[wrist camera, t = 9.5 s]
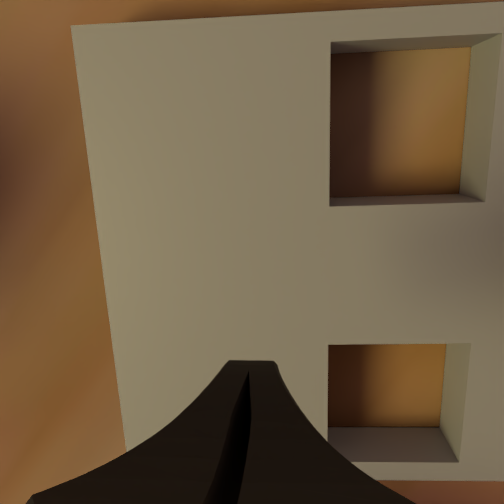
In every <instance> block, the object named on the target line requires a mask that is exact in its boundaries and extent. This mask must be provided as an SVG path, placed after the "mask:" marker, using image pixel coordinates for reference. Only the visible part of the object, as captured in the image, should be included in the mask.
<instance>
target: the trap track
mask: <svg viewBox="0 0 504 504" xmlns="http://www.w3.org/2000/svg"><path fill="white" fill-rule="evenodd" d="M71 32H72V40H73V48H74V55H75V63H76V70H77V78H78V86H79V93H80V101H81V109H82V116H83V124H84V131H85V139H86V147H87V154H88V162H89V170H90V177H91V185H92V192H93V200H94V208H95V215H96V223H97V231H98V238H99V246H100V253H101V261H102V269H103V276H104V284H105V292H106V299H107V307H108V314H109V322H110V330H111V337H112V345H113V353H114V360H115V368H116V375H117V383H118V391H119V398H120V406H121V414H122V421H123V429H124V436H125V444H126V452H128V451H129V450H131V449H133V448H134V447H136V446H137V445H139V444H140V443H142V442H144V441H145V440H147V439H148V438H150V437H151V436H153V435H154V434H156V433H157V432H158V431H160V430H161V429H162V428H164V427H165V426H166V425H168V424H169V423H170V422H171V421H173V420H174V419H175V418H176V417H177V416H178V415H179V414H180V413H181V412H182V411H183V410H184V409H185V408H187V407H188V406H189V405H190V404H191V403H192V402H193V401H194V400H195V399H196V398H197V397H198V396H199V394H200V393H201V392H202V391H203V390H204V389H205V388H206V387H207V386H208V384H209V383H210V382H211V381H212V380H213V378H214V377H215V376H216V375H217V374H218V372H219V371H220V370H221V368H222V367H223V366H224V365H225V363H227V362H228V361H229V360H268V361H274V362H275V363H276V364H277V365H278V369H279V372H280V374H281V377H282V379H283V381H284V383H285V385H286V387H287V388H288V390H289V392H290V393H291V395H292V397H293V398H294V400H295V402H296V403H297V405H298V406H299V408H300V409H301V410H302V412H303V413H304V415H305V416H306V417H307V419H308V420H309V421H310V422H311V424H312V425H313V426H314V427H315V428H316V430H317V431H318V432H319V433H320V434H321V435H322V436H323V437H324V438H325V440H326V441H327V442H328V443H329V444H330V445H331V446H332V447H333V448H335V449H336V450H337V451H338V452H339V453H340V454H341V455H343V456H344V457H345V458H346V459H347V460H349V461H350V462H351V463H352V464H354V465H355V466H356V467H357V468H359V469H360V470H361V471H363V472H364V473H366V474H367V475H369V476H370V477H372V478H373V479H375V480H420V481H504V1H503V2H485V3H467V4H449V5H431V6H413V7H395V8H377V9H359V10H341V11H323V12H305V13H287V14H269V15H251V16H233V17H215V18H198V19H180V20H162V21H144V22H126V23H108V24H90V25H72V26H71ZM458 47H471V59H470V71H469V82H468V94H467V106H466V118H465V130H464V142H463V154H462V166H461V178H460V189H459V194H438V195H405V196H371V197H338V198H329V178H330V54H337V53H357V52H377V51H397V50H417V49H437V48H458ZM348 344H446V356H445V368H444V380H443V392H442V403H441V415H440V427H328V345H348Z"/></svg>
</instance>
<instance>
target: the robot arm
mask: <svg viewBox="0 0 504 504" xmlns="http://www.w3.org/2000/svg"><path fill="white" fill-rule="evenodd" d="M26 504H416V503H414V502H412V501H410V500H409V499H407V498H405V497H403V496H401V495H400V494H398V493H396V492H394V491H393V490H391V489H389V488H387V487H385V486H384V485H382V484H380V483H379V482H377V481H376V480H375V479H373V478H372V477H370V476H369V475H367V474H366V473H364V472H363V471H361V470H360V469H359V468H357V467H356V466H355V465H354V464H352V463H351V462H350V461H349V460H347V459H346V458H345V457H344V456H343V455H341V454H340V453H339V452H338V451H337V450H336V449H335V448H333V447H332V446H331V445H330V444H329V443H328V442H327V441H326V440H325V438H324V437H323V436H322V435H321V434H320V433H319V432H318V431H317V430H316V428H315V427H314V426H313V425H312V424H311V422H310V421H309V420H308V419H307V417H306V416H305V415H304V413H303V412H302V410H301V409H300V408H299V406H298V405H297V403H296V402H295V400H294V398H293V397H292V395H291V393H290V392H289V390H288V388H287V387H286V385H285V383H284V381H283V379H282V377H281V374H280V372H279V369H278V365H277V364H276V363H275V362H274V361H268V360H229V361H228V362H227V363H225V365H224V366H223V367H222V368H221V370H220V371H219V372H218V374H217V375H216V376H215V377H214V378H213V380H212V381H211V382H210V383H209V384H208V386H207V387H206V388H205V389H204V390H203V391H202V392H201V393H200V394H199V396H198V397H197V398H196V399H195V400H194V401H193V402H192V403H191V404H190V405H189V406H188V407H187V408H185V409H184V410H183V411H182V412H181V413H180V414H179V415H178V416H177V417H176V418H175V419H174V420H173V421H171V422H170V423H169V424H168V425H166V426H165V427H164V428H162V429H161V430H160V431H158V432H157V433H156V434H154V435H153V436H151V437H150V438H148V439H147V440H145V441H144V442H142V443H140V444H139V445H137V446H136V447H134V448H133V449H131V450H129V451H128V452H126V453H125V454H123V455H121V456H119V457H118V458H116V459H114V460H112V461H110V462H108V463H106V464H104V465H102V466H100V467H98V468H96V469H94V470H92V471H90V472H88V473H86V474H84V475H81V476H79V477H77V478H74V479H72V480H69V481H67V482H64V483H62V484H59V485H57V486H54V487H52V488H49V489H47V490H44V491H42V492H39V493H36V494H33V495H32V496H31V497H30V499H29V500H28V501H27V503H26Z"/></svg>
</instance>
